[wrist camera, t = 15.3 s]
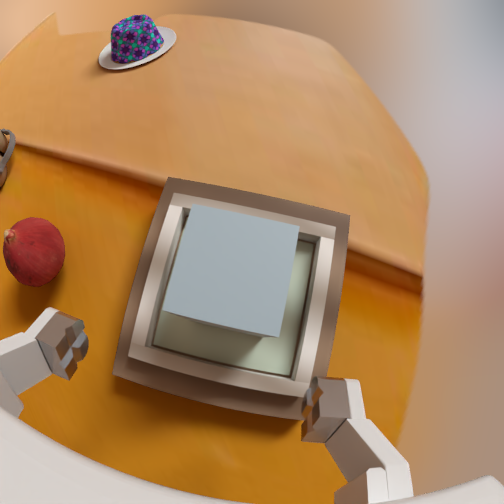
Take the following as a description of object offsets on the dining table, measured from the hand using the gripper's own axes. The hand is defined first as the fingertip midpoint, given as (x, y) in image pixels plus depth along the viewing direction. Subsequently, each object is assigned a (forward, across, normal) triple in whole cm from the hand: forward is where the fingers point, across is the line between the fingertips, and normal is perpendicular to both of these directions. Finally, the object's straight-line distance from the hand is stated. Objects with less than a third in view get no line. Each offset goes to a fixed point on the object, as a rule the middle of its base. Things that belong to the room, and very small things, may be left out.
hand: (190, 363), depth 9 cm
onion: (+12, +17, +8) cm, 22 cm away
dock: (+13, -1, +7) cm, 14 cm away
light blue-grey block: (+10, -1, +5) cm, 11 cm away
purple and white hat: (+35, +21, -15) cm, 44 cm away
